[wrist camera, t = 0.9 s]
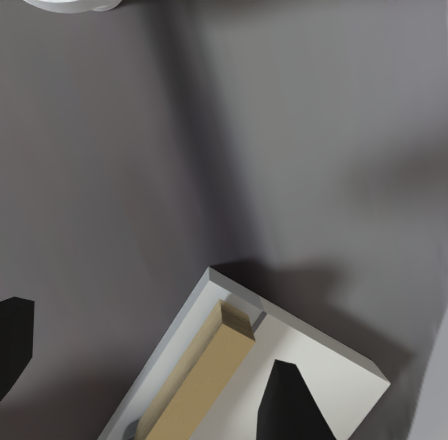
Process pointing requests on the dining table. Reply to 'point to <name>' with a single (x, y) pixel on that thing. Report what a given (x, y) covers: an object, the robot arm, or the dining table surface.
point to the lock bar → (197, 377)
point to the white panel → (257, 367)
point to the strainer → (74, 5)
